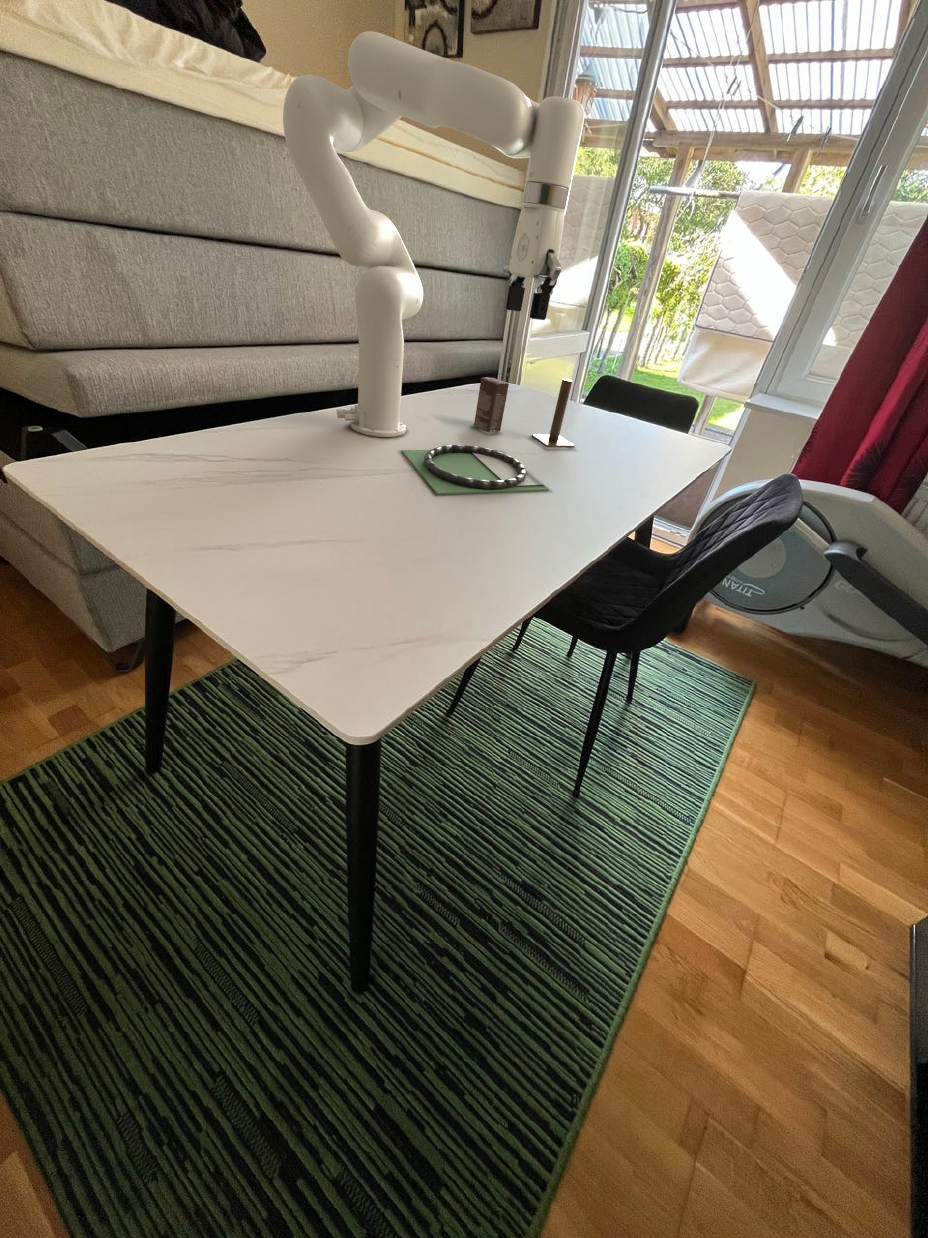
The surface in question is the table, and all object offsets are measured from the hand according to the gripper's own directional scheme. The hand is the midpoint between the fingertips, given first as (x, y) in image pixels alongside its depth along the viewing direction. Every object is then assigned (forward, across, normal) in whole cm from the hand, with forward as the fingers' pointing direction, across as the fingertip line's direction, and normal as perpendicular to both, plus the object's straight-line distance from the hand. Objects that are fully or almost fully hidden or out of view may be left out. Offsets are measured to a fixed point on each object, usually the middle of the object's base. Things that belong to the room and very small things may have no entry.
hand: (524, 314), depth 98 cm
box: (+28, -20, +6) cm, 35 cm away
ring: (+27, +6, -9) cm, 29 cm away
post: (+28, -10, +20) cm, 36 cm away
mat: (+28, +6, -9) cm, 30 cm away
